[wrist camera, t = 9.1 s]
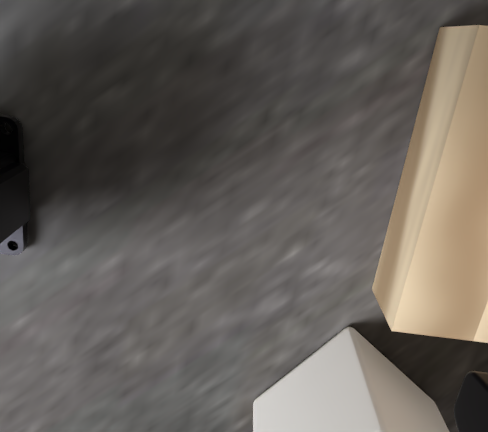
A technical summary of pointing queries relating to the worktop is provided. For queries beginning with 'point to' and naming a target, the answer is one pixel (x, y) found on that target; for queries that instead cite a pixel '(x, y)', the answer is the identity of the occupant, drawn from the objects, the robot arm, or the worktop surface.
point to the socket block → (443, 201)
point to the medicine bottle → (346, 394)
